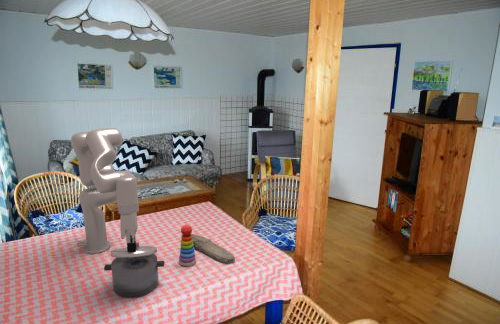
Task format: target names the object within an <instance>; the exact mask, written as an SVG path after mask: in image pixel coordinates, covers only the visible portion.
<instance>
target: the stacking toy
mask: <svg viewBox="0 0 500 324" xmlns="http://www.w3.org/2000/svg"><path fill="white" fill-rule="evenodd" d="M180 232H181V234H182V235H181V236H180V249H179V251H180V252H179V255H178V256H179V257H178V263H179V265H180V266H183V267H191V266H193V265H195V264H196V262H197V259H196V251H195V248H194V246H193V245H194V244H193V240H192V235H191V234H193V233H192V232H193V228H192V226H191V225H190V224H185V225H183V226H181V228H180Z"/></svg>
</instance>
